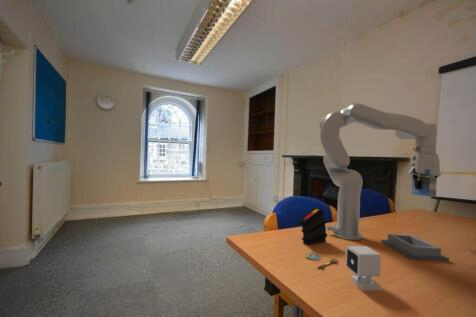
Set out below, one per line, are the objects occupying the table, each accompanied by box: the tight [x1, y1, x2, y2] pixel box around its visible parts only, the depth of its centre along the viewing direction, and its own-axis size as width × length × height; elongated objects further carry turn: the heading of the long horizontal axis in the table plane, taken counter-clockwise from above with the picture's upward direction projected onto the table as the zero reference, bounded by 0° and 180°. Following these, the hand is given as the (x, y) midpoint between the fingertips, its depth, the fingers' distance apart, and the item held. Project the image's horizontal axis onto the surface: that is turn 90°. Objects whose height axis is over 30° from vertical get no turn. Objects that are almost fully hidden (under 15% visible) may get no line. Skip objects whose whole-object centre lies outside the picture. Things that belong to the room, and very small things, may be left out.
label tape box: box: [411, 169, 438, 198], centre depth 103 cm, size 9×4×12 cm, turn 8°
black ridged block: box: [298, 206, 328, 247], centre depth 95 cm, size 4×13×15 cm, turn 118°
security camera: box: [345, 245, 382, 292], centre depth 63 cm, size 6×7×10 cm
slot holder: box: [381, 233, 450, 262], centre depth 90 cm, size 14×17×4 cm
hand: (423, 188), depth 103 cm, fingers closed on label tape box, 4 cm apart
